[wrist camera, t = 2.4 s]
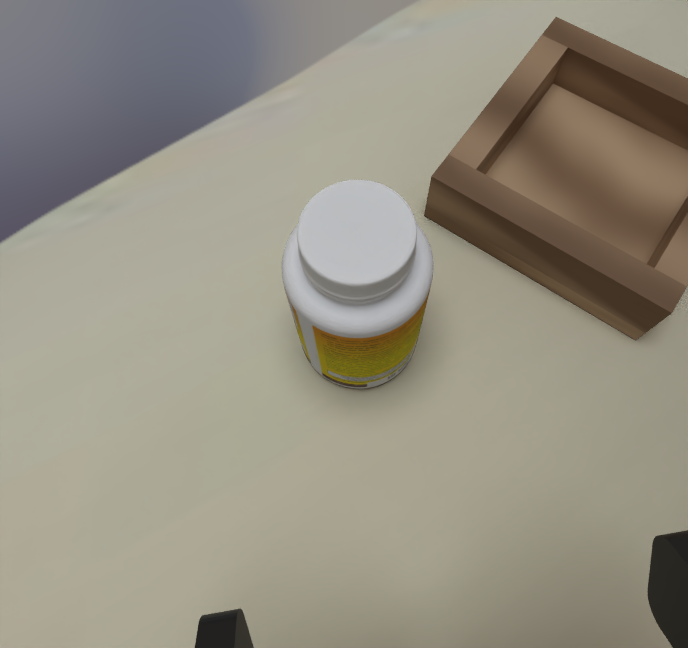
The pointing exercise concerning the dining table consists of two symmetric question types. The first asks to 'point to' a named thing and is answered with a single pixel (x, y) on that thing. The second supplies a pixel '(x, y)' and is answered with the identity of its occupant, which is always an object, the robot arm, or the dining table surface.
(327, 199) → the supplement bottle
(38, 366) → the dining table surface
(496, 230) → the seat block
